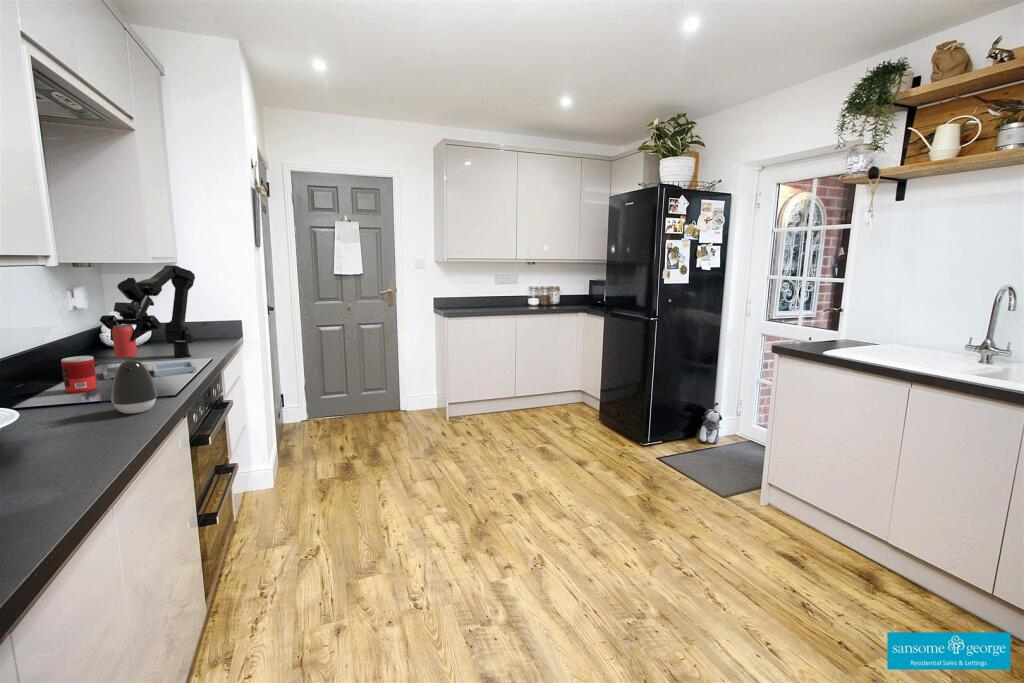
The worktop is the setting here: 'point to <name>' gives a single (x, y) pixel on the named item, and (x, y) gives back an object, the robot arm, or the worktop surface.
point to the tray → (173, 368)
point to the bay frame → (114, 369)
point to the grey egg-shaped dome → (133, 388)
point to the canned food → (79, 374)
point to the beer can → (124, 341)
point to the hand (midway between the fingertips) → (121, 340)
